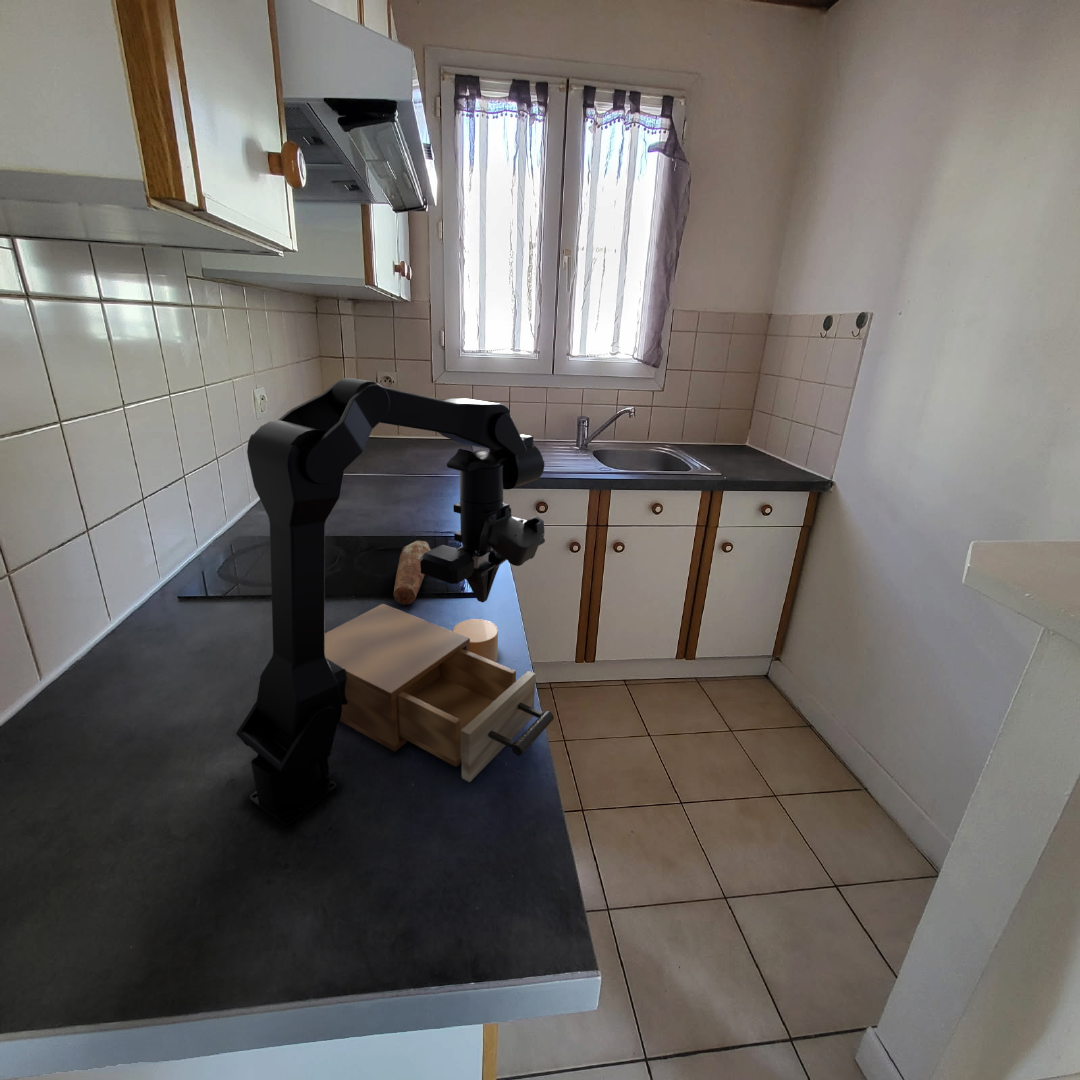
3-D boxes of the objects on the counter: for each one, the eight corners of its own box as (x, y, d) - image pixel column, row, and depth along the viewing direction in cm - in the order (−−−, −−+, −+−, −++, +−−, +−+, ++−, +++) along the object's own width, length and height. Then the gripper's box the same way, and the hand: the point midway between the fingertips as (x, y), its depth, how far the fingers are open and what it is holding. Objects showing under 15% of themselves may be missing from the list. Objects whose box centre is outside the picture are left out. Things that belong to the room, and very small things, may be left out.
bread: (433, 564, 117) (432, 539, 115) (418, 608, 100) (417, 580, 98) (403, 563, 117) (401, 539, 115) (382, 608, 99) (380, 579, 97)
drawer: (565, 731, 71) (568, 686, 68) (504, 802, 60) (505, 752, 57) (443, 675, 80) (441, 635, 78) (371, 728, 70) (367, 683, 67)
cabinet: (470, 690, 79) (470, 638, 76) (394, 752, 67) (390, 693, 64) (386, 652, 87) (382, 603, 84) (305, 701, 75) (297, 647, 72)
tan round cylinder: (479, 676, 82) (479, 647, 80) (444, 661, 85) (443, 632, 83) (506, 655, 87) (506, 627, 86) (471, 641, 91) (471, 614, 89)
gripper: (486, 531, 63) (486, 649, 69) (569, 492, 77) (563, 592, 83) (414, 511, 68) (420, 621, 74) (504, 477, 83) (503, 572, 89)
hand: (482, 600), depth 80 cm, fingers closed
